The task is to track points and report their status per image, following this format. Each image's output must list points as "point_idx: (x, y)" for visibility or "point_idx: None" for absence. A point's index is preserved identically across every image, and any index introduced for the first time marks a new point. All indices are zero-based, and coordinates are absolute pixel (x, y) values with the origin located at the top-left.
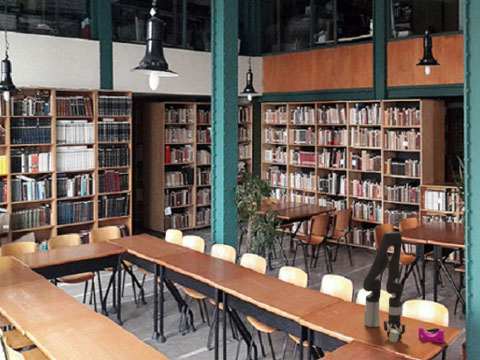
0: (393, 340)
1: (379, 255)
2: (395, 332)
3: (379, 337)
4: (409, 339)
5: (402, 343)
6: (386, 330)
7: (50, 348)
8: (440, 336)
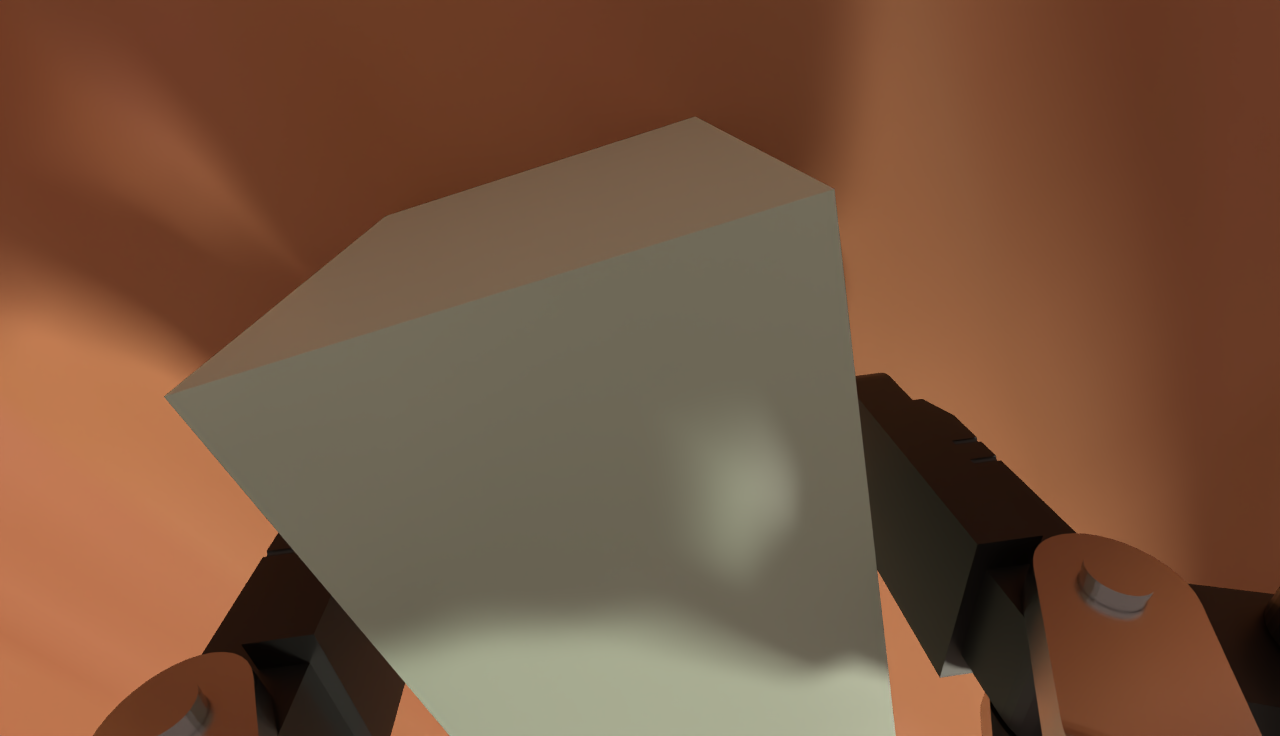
0: (496, 192)
1: None
2: (610, 718)
3: (1181, 273)
4: None
5: (119, 282)
6: (1213, 614)
7: None
8: None
